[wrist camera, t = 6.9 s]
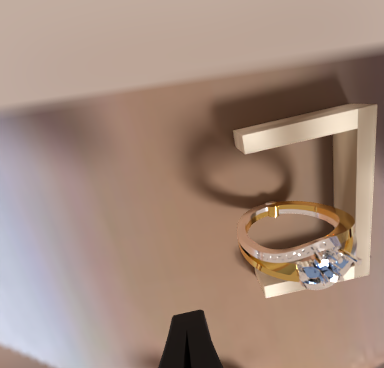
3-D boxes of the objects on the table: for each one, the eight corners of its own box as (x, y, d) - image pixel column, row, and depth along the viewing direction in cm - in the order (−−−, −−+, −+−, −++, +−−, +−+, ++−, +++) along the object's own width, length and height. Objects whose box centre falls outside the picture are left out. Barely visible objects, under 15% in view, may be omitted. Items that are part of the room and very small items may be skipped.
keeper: (349, 103, 17) (377, 104, 15) (347, 255, 21) (369, 274, 19) (233, 130, 17) (242, 135, 15) (255, 276, 21) (265, 298, 19)
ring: (312, 180, 19) (405, 235, 11) (311, 216, 20) (395, 288, 12) (224, 194, 19) (258, 259, 11) (228, 230, 20) (261, 311, 12)
